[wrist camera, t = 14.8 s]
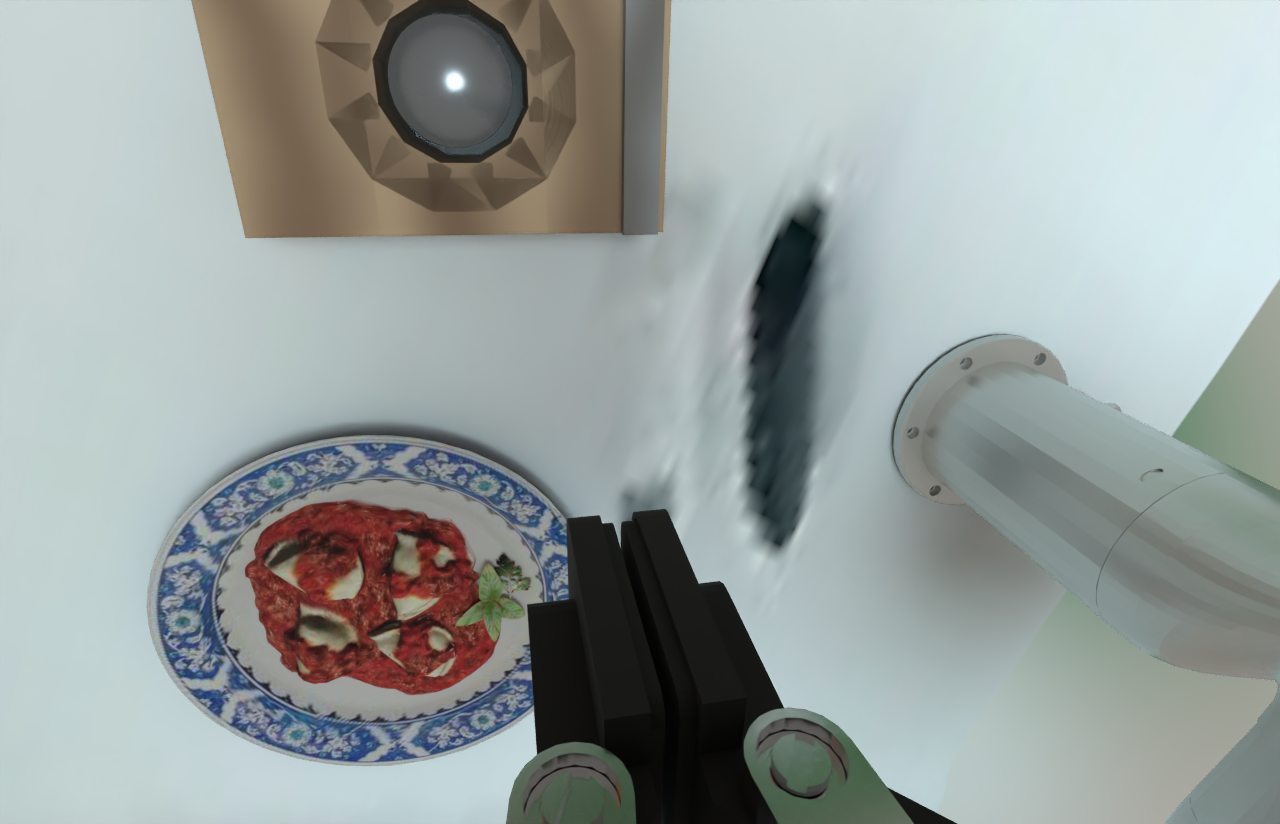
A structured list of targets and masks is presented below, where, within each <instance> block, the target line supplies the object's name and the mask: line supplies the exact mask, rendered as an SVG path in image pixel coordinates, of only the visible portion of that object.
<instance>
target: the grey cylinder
mask: <svg viewBox="0 0 1280 824" xmlns="http://www.w3.org/2000/svg"><path fill="white" fill-rule="evenodd" d="M388 82H389V88H390V92H391V95H392V98H393V101H394V103H395V105H396V108H397V109H398V111H399V113H400V114H401V116H402V117H403V119H404V120H405V121H406V123H407V124H408V125H409V126H410V127H411V128H412V129H413V130H414V131H416V132H417V133H418V134H419V135H421V136H422V137H424V138H425V139H427V140H429V141H431V142H433V143H436V144H439V145H442V146H446V147H454V148H461V147H469V146H473V145H476V144H479V143H481V142H483V141H485V140H486V139H488V138H489V137H491V136H492V135H493V134H494V133H495V132H496V131H497V130H498V129H499V128H500V126H501V125H502V124H503V122H504V120H505V118H506V116H507V114H508V111H509V108H510V104H511V99H512V79H511V73H510V69H509V66H508V63H507V60H506V58H505V56H504V54H503V52H502V50H501V49H500V47H499V46H498V44H497V43H496V41H495V40H494V39H493V38H492V37H491V36H490V35H489V34H488V33H487V32H486V31H485V30H484V29H483V28H481V27H480V26H479V25H477V24H475V23H474V22H472V21H470V20H468V19H466V18H463V17H460V16H456V15H451V14H434V15H428V16H426V17H423V18H420V19H418V20H416V21H415V22H413V23H412V24H410V25H409V26H408V27H407V28H406V29H405V30H404V31H403V32H402V33H401V34H400V35H399V37H398V38H397V40H396V42H395V44H394V46H393V48H392V51H391V54H390V58H389V63H388Z"/></svg>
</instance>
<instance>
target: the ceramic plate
mask: <svg viewBox="0 0 1280 824" xmlns="http://www.w3.org/2000/svg"><path fill="white" fill-rule="evenodd" d="M566 522H567V519H566V518H565V517H564V516H563V515H562V514H561V512H560V511H559V510H558V509H557V508H556V507H555V506H554V504H553V503H552V502H551V501H550V500H549V499H548V498H547V497H546V496H545V495H544V494H543V493H541V492H540V491H539V490H538V489H537V488H536V487H535V486H533V485H532V484H530V483H529V482H528V481H526V480H525V479H524V478H522V477H521V476H519V475H518V474H516V473H514V472H513V471H511V470H509V469H508V468H506V467H504V466H502V465H501V464H499V463H496V462H494V461H492V460H490V459H487V458H485V457H483V456H481V455H478V454H476V453H474V452H472V451H469V450H465V449H461V448H458V447H454V446H451V445H447V444H444V443H440V442H436V441H430V440H425V439H419V438H413V437H402V436H391V435H360V436H347V437H337V438H331V439H324V440H318V441H313V442H309V443H305V444H301V445H297V446H293V447H290V448H287V449H284V450H281V451H278V452H275V453H272V454H270V455H267V456H265V457H263V458H261V459H258V460H256V461H254V462H252V463H249V464H247V465H246V466H244V467H242V468H240V469H239V470H237V471H235V472H233V473H232V474H230V475H228V476H227V477H225V478H224V479H222V480H221V481H220V482H218V483H217V484H215V485H214V486H213V487H211V488H210V489H209V490H207V491H206V492H205V493H204V494H203V495H202V496H201V497H200V498H198V499H197V500H196V501H195V502H194V503H193V504H192V505H191V506H190V507H189V508H188V509H187V510H186V512H185V513H184V514H183V515H182V516H181V517H180V518H179V519H178V520H177V522H176V523H175V525H174V526H173V528H172V529H171V531H170V532H169V534H168V535H167V536H166V538H165V540H164V542H163V544H162V547H161V549H160V551H159V553H158V555H157V557H156V559H155V562H154V565H153V568H152V571H151V576H150V581H149V586H148V595H147V613H148V623H149V628H150V632H151V636H152V641H153V644H154V646H155V649H156V651H157V654H158V656H159V659H160V660H161V662H162V664H163V666H164V668H165V669H166V671H167V673H168V675H169V676H170V677H171V679H172V680H173V682H174V683H175V684H176V686H177V687H178V688H179V689H180V691H181V692H182V693H183V694H184V695H185V696H186V697H187V698H188V699H189V700H190V702H192V703H193V704H194V705H195V706H196V707H197V708H198V709H199V710H200V711H202V712H203V713H204V714H205V715H206V716H207V717H209V718H210V719H212V720H213V721H214V722H216V723H217V724H219V725H220V726H222V727H224V728H225V729H227V730H229V731H230V732H232V733H234V734H235V735H237V736H239V737H241V738H243V739H245V740H247V741H249V742H252V743H254V744H256V745H258V746H261V747H263V748H266V749H269V750H272V751H275V752H278V753H281V754H284V755H288V756H291V757H295V758H298V759H303V760H308V761H314V762H320V763H327V764H335V765H347V766H390V765H398V764H405V763H411V762H417V761H423V760H428V759H433V758H437V757H441V756H445V755H448V754H452V753H455V752H459V751H462V750H465V749H467V748H470V747H472V746H474V745H477V744H479V743H481V742H483V741H485V740H488V739H490V738H492V737H494V736H496V735H498V734H500V733H502V732H503V731H505V730H507V729H509V728H511V727H512V726H514V725H515V724H517V723H518V722H519V721H521V720H522V719H524V718H525V717H526V716H528V715H529V714H530V713H531V712H533V711H534V701H533V687H532V672H531V658H530V643H529V628H528V613H527V604H534V603H542V602H551V601H559V600H567V599H569V593H568V561H567V530H566Z"/></svg>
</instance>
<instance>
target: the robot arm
mask: <svg viewBox="0 0 1280 824" xmlns="http://www.w3.org/2000/svg"><path fill="white" fill-rule="evenodd" d="M893 449H894V455H895V461H896V464H897V466H898V469H899V471H900V474H901V475H902V476H903V478H904V479H905V480H906V481H907V483H908V484H909V485H910V486H911V487H913V488H914V489H915V490H916V491H917V492H918V493H919V494H921V495H922V496H924V497H925V498H927V499H929V500H931V501H935V502H938V503H941V504H949V505H963V504H967V505H968V506H969V507H970V508H972V509H973V510H974V511H975V512H976V513H977V514H979V515H980V516H981V517H982V518H983V519H985V520H986V521H987V522H988V523H989V524H990V525H992V526H993V527H994V528H995V529H996V530H998V531H999V532H1000V533H1001V534H1002V535H1003V536H1005V537H1006V538H1007V539H1008V540H1009V541H1011V542H1012V543H1013V544H1014V545H1015V546H1016V547H1018V548H1019V549H1020V550H1021V551H1022V552H1024V553H1025V554H1026V555H1027V556H1028V557H1029V558H1031V559H1032V560H1033V561H1034V562H1035V563H1037V564H1038V565H1039V566H1040V567H1041V568H1042V569H1044V570H1045V571H1046V572H1047V573H1048V574H1049V575H1051V576H1052V577H1053V578H1054V579H1055V580H1057V581H1058V582H1059V583H1060V584H1061V585H1062V586H1064V587H1065V588H1066V589H1067V590H1068V591H1070V592H1071V593H1072V594H1073V595H1074V596H1075V597H1077V598H1078V599H1079V600H1080V601H1082V602H1083V603H1084V604H1085V605H1086V606H1087V607H1088V608H1090V609H1091V610H1092V611H1093V612H1094V613H1096V614H1097V615H1098V616H1099V617H1100V618H1102V619H1103V620H1104V621H1105V622H1106V623H1107V624H1109V625H1110V626H1111V627H1113V628H1114V629H1115V630H1116V631H1117V632H1118V633H1120V634H1121V635H1122V636H1123V637H1125V638H1126V639H1127V640H1128V641H1129V642H1131V643H1132V644H1134V645H1135V646H1136V647H1138V648H1139V649H1141V650H1142V651H1144V652H1146V653H1148V654H1149V655H1151V656H1153V657H1155V658H1157V659H1159V660H1162V661H1164V662H1166V663H1169V664H1171V665H1173V666H1177V667H1180V668H1184V669H1189V670H1192V671H1197V672H1202V673H1208V674H1214V675H1222V676H1232V677H1243V678H1256V679H1267V680H1275V681H1276V682H1277V685H1278V690H1277V694H1276V696H1275V698H1274V700H1273V701H1272V702H1271V704H1270V705H1269V706H1268V707H1267V708H1266V710H1265V711H1264V712H1263V713H1262V715H1261V716H1260V717H1259V718H1258V721H1257V723H1256V724H1255V725H1254V727H1253V728H1252V729H1251V730H1250V731H1249V732H1248V733H1247V734H1246V735H1245V736H1244V737H1243V738H1242V739H1241V740H1240V741H1239V742H1238V743H1237V744H1236V746H1234V747H1233V748H1232V750H1231V751H1230V752H1229V753H1228V754H1227V755H1226V756H1225V757H1224V758H1223V759H1222V760H1221V761H1220V762H1219V763H1218V764H1217V765H1216V766H1215V768H1213V769H1212V770H1211V772H1210V773H1209V774H1208V775H1207V776H1206V777H1205V778H1204V779H1203V780H1202V781H1201V782H1200V783H1199V784H1198V785H1197V786H1196V787H1195V788H1194V790H1193V791H1192V792H1191V793H1190V794H1189V795H1188V796H1187V797H1186V798H1185V799H1184V800H1183V802H1181V804H1180V805H1179V806H1178V807H1177V808H1176V810H1175V811H1174V812H1173V813H1172V815H1171V816H1170V817H1169V818H1168V820H1167V821H1166V823H1165V824H1280V490H1278V489H1276V488H1274V487H1272V486H1270V485H1268V484H1266V483H1264V482H1262V481H1260V480H1258V479H1256V478H1254V477H1252V476H1250V475H1248V474H1246V473H1243V472H1242V471H1240V470H1237V469H1236V468H1234V467H1232V466H1229V465H1227V464H1225V463H1223V462H1221V461H1219V460H1217V459H1215V458H1213V457H1211V456H1209V455H1207V454H1205V453H1203V452H1201V451H1199V450H1197V449H1195V448H1193V447H1191V446H1189V445H1187V444H1185V443H1183V442H1181V441H1179V440H1177V439H1175V438H1173V437H1171V436H1169V435H1167V434H1165V433H1163V432H1161V431H1158V430H1156V429H1154V428H1152V427H1150V426H1148V425H1146V424H1144V423H1142V422H1140V421H1138V420H1136V419H1134V418H1132V417H1130V416H1128V415H1126V414H1124V413H1122V412H1121V410H1120V407H1119V406H1118V405H1116V404H1114V403H1105V404H1104V403H1102V402H1100V401H1098V400H1096V399H1094V398H1091V397H1089V396H1087V395H1085V394H1083V393H1081V392H1079V391H1077V390H1075V389H1073V388H1071V387H1069V386H1068V383H1067V379H1066V374H1065V371H1064V369H1063V367H1062V365H1061V363H1060V362H1059V360H1058V359H1057V358H1056V357H1055V356H1054V355H1053V353H1052V352H1051V351H1050V350H1048V349H1046V348H1045V347H1043V346H1042V345H1040V344H1038V343H1036V342H1033V341H1031V340H1029V339H1026V338H1024V337H1019V336H1013V335H991V336H987V337H983V338H979V339H975V340H973V341H971V342H968V343H966V344H964V345H961V346H959V347H957V348H956V349H954V350H953V351H951V352H949V353H948V354H946V355H945V356H943V357H942V358H941V359H940V360H938V361H937V362H936V363H935V364H934V365H933V366H931V367H930V368H929V369H928V370H927V371H926V372H925V373H924V375H923V376H922V377H921V378H920V379H919V380H918V382H917V383H916V384H915V385H914V387H913V388H912V390H911V392H910V393H909V395H908V396H907V398H906V399H905V402H904V404H903V406H902V408H901V411H900V413H899V415H898V419H897V423H896V427H895V430H894V443H893ZM566 530H567V561H568V593H569V599H567V600H559V601H551V602H542V603H534V604H527V613H528V628H529V643H530V658H531V672H532V687H533V701H534V716H535V730H536V745H537V755H536V756H535V757H534V758H533V759H532V760H531V761H529V762H528V763H527V764H526V765H525V766H524V768H523V769H522V771H521V772H520V774H519V775H518V777H517V778H516V780H515V782H514V785H513V788H512V792H511V795H510V798H509V805H508V813H507V820H506V824H957V823H955V822H953V821H951V820H949V819H947V818H945V817H943V816H941V815H939V814H937V813H936V812H934V811H932V810H930V809H928V808H926V807H924V806H922V805H920V804H918V803H916V802H914V801H912V800H911V799H909V798H907V797H905V796H903V795H901V794H899V793H897V792H895V791H893V790H891V789H889V788H887V787H886V786H885V784H884V783H883V781H882V780H881V779H880V777H879V776H878V775H877V773H876V772H875V771H874V769H873V768H872V767H871V765H870V764H869V763H868V761H867V760H866V759H865V757H864V756H863V755H862V753H861V752H860V751H859V749H858V748H857V747H856V745H855V744H854V743H853V741H852V740H851V739H850V738H849V737H848V736H847V735H846V734H845V732H844V731H843V730H842V729H841V728H840V727H839V726H838V725H836V724H835V723H833V722H831V721H830V720H828V719H827V718H825V717H824V716H822V715H819V714H816V713H814V712H811V711H808V710H805V709H797V708H784V707H783V705H782V703H781V701H780V699H779V697H778V694H777V692H776V690H775V688H774V686H773V684H772V682H771V680H770V678H769V676H768V674H767V672H766V670H765V668H764V665H763V663H762V661H761V659H760V657H759V655H758V653H757V651H756V649H755V647H754V645H753V643H752V641H751V638H750V636H749V634H748V632H747V630H746V628H745V626H744V624H743V622H742V620H741V618H740V616H739V614H738V612H737V609H736V607H735V605H734V603H733V601H732V599H731V597H730V595H729V593H728V591H727V589H726V587H725V586H724V584H723V583H721V582H720V581H718V582H709V583H701V584H698V581H697V579H696V577H695V574H694V572H693V570H692V567H691V565H690V563H689V560H688V558H687V556H686V553H685V551H684V549H683V546H682V544H681V542H680V539H679V537H678V535H677V532H676V530H675V528H674V525H673V523H672V521H671V518H670V516H669V514H668V512H667V510H666V509H660V510H650V511H639V512H634V513H633V515H632V521H625V522H622V524H621V548H620V545H619V542H618V538H617V535H616V531H615V528H614V525H613V523H605V524H602V522H601V518H600V516H599V515H598V516H587V517H577V518H567V522H566Z"/></svg>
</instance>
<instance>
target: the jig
mask: <svg viewBox="0 0 1280 824" xmlns="http://www.w3.org/2000/svg"><path fill="white" fill-rule="evenodd" d="M191 1H192V5H193V10H194V14H195V19H196V23H197V27H198V32H199V36H200V40H201V45H202V49H203V54H204V58H205V62H206V67H207V71H208V76H209V80H210V84H211V89H212V93H213V97H214V102H215V106H216V111H217V115H218V119H219V124H220V128H221V133H222V137H223V141H224V146H225V150H226V154H227V159H228V163H229V168H230V172H231V176H232V181H233V185H234V189H235V194H236V198H237V203H238V207H239V211H240V216H241V220H242V225H243V229H244V233H245V238H282V237H350V236H418V235H486V234H554V233H622V234H623V235H644V234H658V232H663V219H664V190H665V161H666V132H667V103H668V74H669V45H670V16H671V0H191ZM432 13H454V14H471V15H472V16H474V17H475V18H477V19H478V20H480V21H481V22H483V23H484V24H486V25H487V26H489V27H490V28H492V29H493V30H495V31H496V32H498V33H499V34H501V35H502V36H503V37H504V39H505V41H506V43H507V44H508V46H509V48H510V50H511V52H512V53H513V55H514V57H515V59H516V61H517V62H518V64H519V66H520V68H521V69H522V85H523V106H524V107H523V109H522V111H521V113H520V115H519V117H518V119H517V121H516V124H515V126H514V128H513V130H512V132H511V134H510V136H509V138H507V139H506V140H504V141H502V142H501V143H499V144H498V145H496V146H494V147H493V148H491V149H490V150H488V151H486V152H485V153H483V154H482V155H447V154H446V153H444V152H442V151H440V150H439V149H437V148H435V147H433V146H432V145H430V144H428V143H426V142H425V141H423V140H421V139H419V138H418V137H416V136H415V134H414V133H413V131H412V130H411V128H410V127H409V125H408V124H407V123H406V121H405V120H404V119H403V117H402V116H401V114H400V113H399V111H398V109H397V108H396V106H395V104H394V101H393V98H392V95H391V92H390V88H389V82H388V63H389V58H390V54H391V51H392V48H393V46H394V44H395V42H396V40H397V38H398V37H399V35H400V34H401V33H402V32H403V31H404V30H405V29H406V28H407V27H408V26H409V25H410V24H412V23H413V22H415V21H416V20H418V19H420V18H423V17H426V16H428V15H431V14H432Z"/></svg>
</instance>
